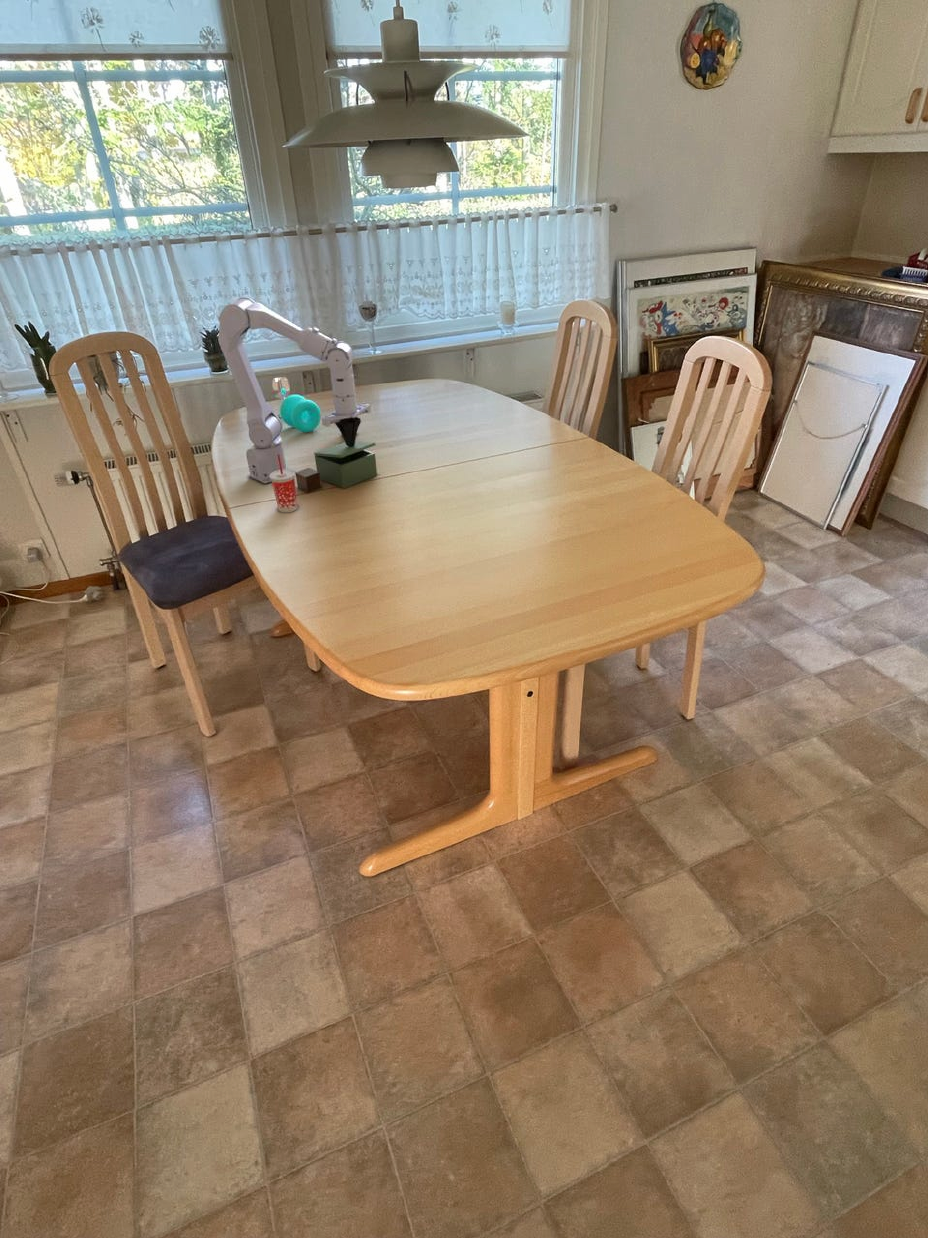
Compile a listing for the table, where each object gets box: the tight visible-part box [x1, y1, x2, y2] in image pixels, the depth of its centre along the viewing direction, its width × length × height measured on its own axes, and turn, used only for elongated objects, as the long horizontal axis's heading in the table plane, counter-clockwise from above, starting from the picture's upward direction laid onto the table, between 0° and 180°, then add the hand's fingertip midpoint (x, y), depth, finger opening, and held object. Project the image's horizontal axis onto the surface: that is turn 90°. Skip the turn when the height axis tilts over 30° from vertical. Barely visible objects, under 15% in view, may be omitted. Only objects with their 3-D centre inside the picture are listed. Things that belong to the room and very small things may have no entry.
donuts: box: [279, 394, 322, 433], centre depth 217 cm, size 10×10×10 cm
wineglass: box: [271, 376, 292, 418], centre depth 228 cm, size 6×6×12 cm
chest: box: [314, 449, 378, 489], centre depth 187 cm, size 11×12×6 cm
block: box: [295, 467, 322, 494], centre depth 181 cm, size 4×4×4 cm
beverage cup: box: [269, 454, 298, 513], centre depth 169 cm, size 6×6×14 cm
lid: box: [313, 440, 377, 458], centre depth 184 cm, size 12×12×1 cm
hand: (350, 445), depth 184 cm, fingers closed
